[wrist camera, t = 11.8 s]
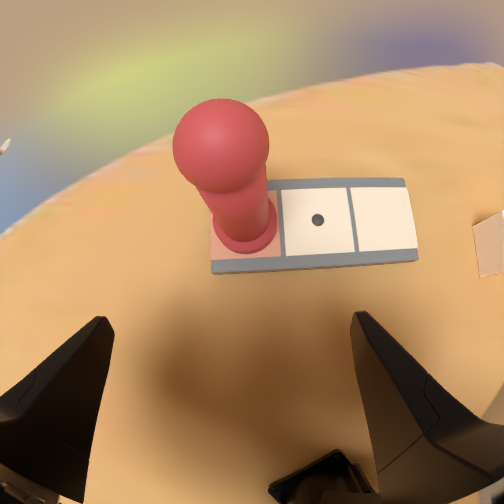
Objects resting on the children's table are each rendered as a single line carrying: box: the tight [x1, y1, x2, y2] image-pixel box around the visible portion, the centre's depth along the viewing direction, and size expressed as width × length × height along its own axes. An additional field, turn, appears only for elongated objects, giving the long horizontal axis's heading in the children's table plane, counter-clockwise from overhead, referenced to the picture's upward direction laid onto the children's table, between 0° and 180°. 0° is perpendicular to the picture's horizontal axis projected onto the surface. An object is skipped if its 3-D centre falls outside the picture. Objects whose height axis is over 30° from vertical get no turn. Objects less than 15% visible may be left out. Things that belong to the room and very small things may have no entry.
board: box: [210, 178, 419, 275], centre depth 21 cm, size 15×6×1 cm, turn 92°
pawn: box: [173, 99, 277, 254], centre depth 15 cm, size 4×4×12 cm
